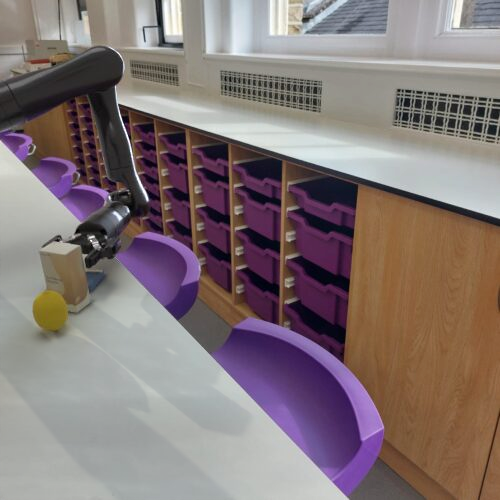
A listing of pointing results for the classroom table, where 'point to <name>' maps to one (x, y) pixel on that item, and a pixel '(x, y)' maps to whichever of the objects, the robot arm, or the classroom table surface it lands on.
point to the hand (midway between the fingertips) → (65, 263)
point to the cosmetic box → (66, 273)
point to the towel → (93, 278)
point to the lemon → (50, 310)
